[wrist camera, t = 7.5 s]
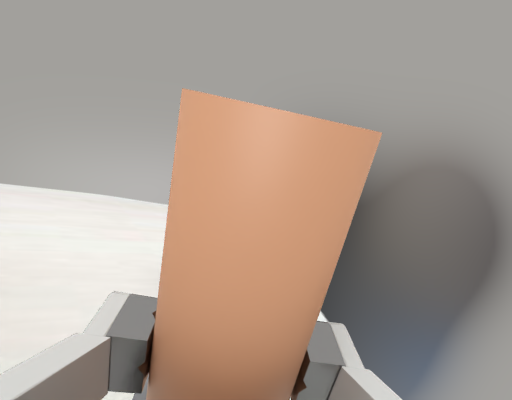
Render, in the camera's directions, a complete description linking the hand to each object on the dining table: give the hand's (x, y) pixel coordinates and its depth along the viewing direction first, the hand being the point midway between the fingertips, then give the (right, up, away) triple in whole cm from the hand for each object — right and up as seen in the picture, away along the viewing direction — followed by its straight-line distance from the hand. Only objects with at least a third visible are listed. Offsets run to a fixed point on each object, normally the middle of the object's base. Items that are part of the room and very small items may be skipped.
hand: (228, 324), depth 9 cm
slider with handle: (-2, -9, +2) cm, 10 cm away
